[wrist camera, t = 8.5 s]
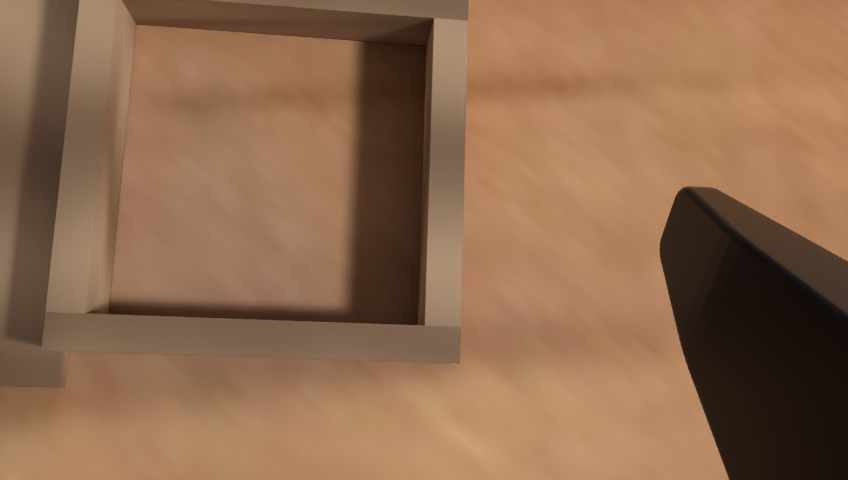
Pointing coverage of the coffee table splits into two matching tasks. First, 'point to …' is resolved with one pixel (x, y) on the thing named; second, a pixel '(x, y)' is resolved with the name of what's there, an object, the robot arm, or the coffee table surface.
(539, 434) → the coffee table surface
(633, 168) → the coffee table surface
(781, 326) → the robot arm
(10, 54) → the wooden double frame
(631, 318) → the coffee table surface
